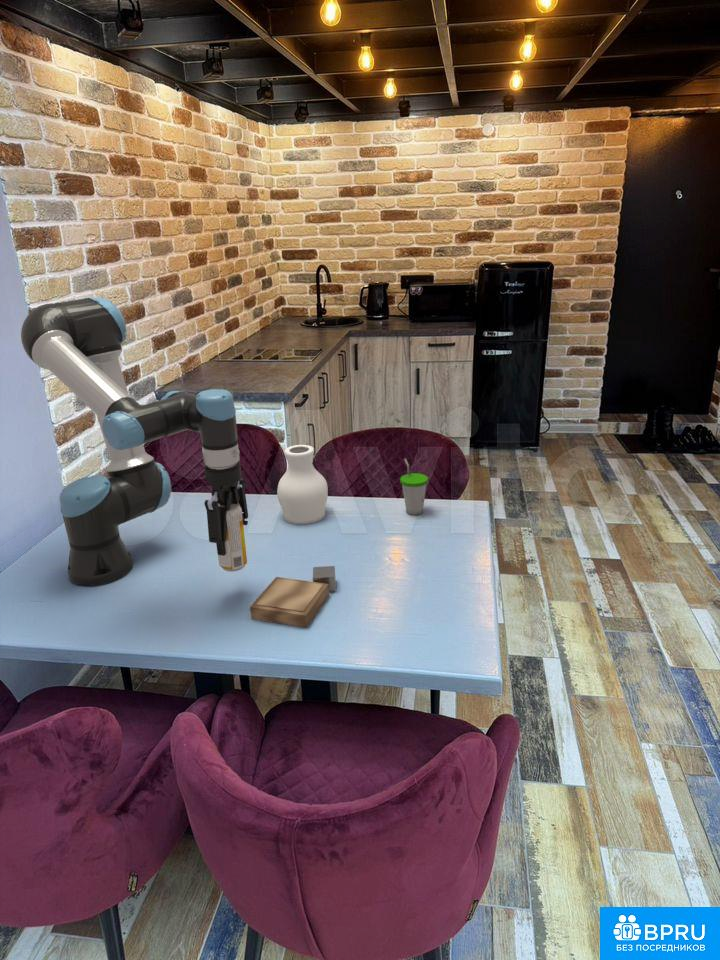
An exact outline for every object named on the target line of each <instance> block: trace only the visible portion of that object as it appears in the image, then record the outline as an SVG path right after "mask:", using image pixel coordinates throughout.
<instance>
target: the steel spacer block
mask: <svg viewBox="0 0 720 960" xmlns="http://www.w3.org/2000/svg"><path fill="white" fill-rule="evenodd" d="M312 582H317V583H325V584H329V593H335V592H336V591H337V589H336V588H337V587H336V586H337V585H336V584H337V583H336V582H337V581H336V566H335V565H329V566H328V565H327V566H326V565H325V566H313V567H312Z"/></svg>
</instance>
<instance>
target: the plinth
mask: <svg viewBox="0 0 720 960" xmlns="http://www.w3.org/2000/svg"><path fill="white" fill-rule="evenodd" d="M329 597H330V592H329V584H325V583H317V582H313V581H309V580H302V579H301V580H300V579H295V578H294V579H293V578H289V577H288V578H287V577H280V576H275V577H274V579H273V580H271V582H270V583H269V584H268V585H267V587H266V588H265V589H264V590H263V591H262V592H261V593H260V594H259V596H258V597H257V598H256V599H255V601H253V603H252V604H251V605H250V606H249V609H250V617H251V619H252V620H257V621H261V622H269V623H276V624H282V625H287V626H288V625H289V626H294V627H300V628H306V629H307V628H308V627H309V626H310V625H311V623H312V622H313V620H314V619H315V617H317V614H318V613H319V611H321V608H322V607H323V606H324V604H325V603H326V602H327V600H328V599H329Z"/></svg>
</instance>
